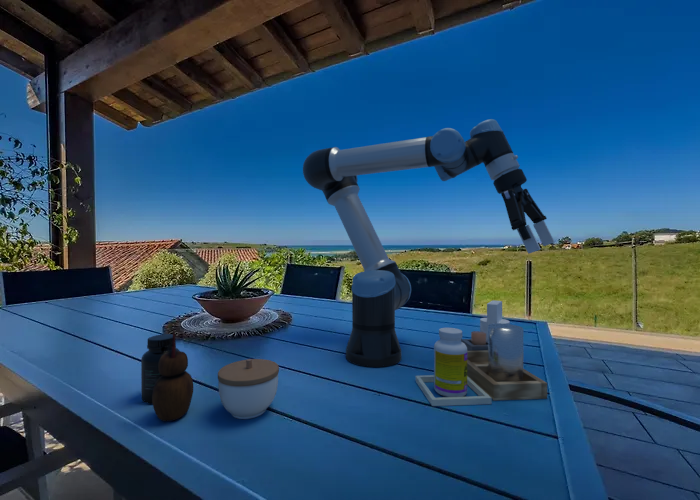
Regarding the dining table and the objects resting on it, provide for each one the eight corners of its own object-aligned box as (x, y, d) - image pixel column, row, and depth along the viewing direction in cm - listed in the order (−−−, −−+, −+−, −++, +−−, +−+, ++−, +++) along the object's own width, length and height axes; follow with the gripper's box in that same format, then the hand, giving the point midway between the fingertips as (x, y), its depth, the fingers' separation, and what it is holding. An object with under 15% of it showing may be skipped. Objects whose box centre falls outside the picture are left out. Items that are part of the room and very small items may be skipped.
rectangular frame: (432, 406, 61) (432, 399, 61) (415, 381, 72) (415, 375, 72) (491, 404, 62) (491, 397, 62) (465, 379, 73) (465, 374, 73)
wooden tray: (493, 400, 63) (493, 384, 63) (452, 362, 84) (452, 351, 84) (547, 398, 64) (547, 383, 64) (493, 361, 85) (493, 350, 85)
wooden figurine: (165, 407, 60) (165, 327, 60) (197, 405, 61) (197, 326, 61) (146, 427, 54) (145, 337, 54) (181, 425, 54) (181, 336, 54)
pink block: (475, 353, 87) (475, 334, 87) (468, 349, 90) (468, 331, 90) (488, 353, 87) (488, 334, 87) (482, 348, 91) (482, 331, 91)
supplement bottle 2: (469, 400, 63) (469, 335, 63) (434, 397, 64) (435, 333, 64) (464, 386, 70) (464, 327, 70) (433, 383, 71) (433, 325, 71)
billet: (498, 392, 65) (498, 331, 65) (482, 379, 72) (482, 323, 72) (530, 391, 66) (530, 330, 66) (511, 378, 73) (511, 323, 73)
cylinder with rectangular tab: (483, 333, 113) (483, 299, 113) (512, 337, 108) (512, 301, 108) (477, 339, 106) (477, 302, 106) (506, 344, 101) (507, 305, 101)
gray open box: (472, 361, 85) (472, 346, 85) (461, 353, 92) (461, 339, 92) (497, 361, 85) (497, 345, 85) (484, 352, 92) (484, 338, 92)
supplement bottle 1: (155, 388, 68) (155, 332, 68) (187, 389, 68) (187, 332, 68) (133, 404, 62) (133, 341, 62) (168, 404, 61) (168, 342, 61)
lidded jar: (218, 432, 52) (218, 374, 52) (217, 403, 62) (217, 354, 62) (284, 418, 56) (284, 365, 56) (273, 393, 66) (273, 347, 66)
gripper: (503, 165, 75) (544, 249, 71) (534, 168, 92) (568, 236, 89) (474, 181, 80) (511, 260, 76) (508, 182, 97) (540, 246, 94)
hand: (542, 247), depth 83 cm, fingers open, 13 cm apart
